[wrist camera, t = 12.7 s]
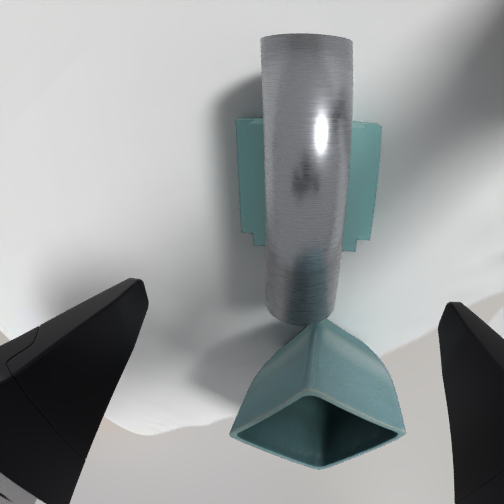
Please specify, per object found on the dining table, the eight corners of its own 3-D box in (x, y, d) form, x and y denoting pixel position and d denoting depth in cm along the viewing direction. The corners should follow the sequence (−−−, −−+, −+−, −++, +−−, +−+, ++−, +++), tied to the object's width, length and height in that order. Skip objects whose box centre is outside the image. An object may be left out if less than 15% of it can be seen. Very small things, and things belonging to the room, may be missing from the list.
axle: (342, 46, 13) (362, 38, 10) (330, 281, 20) (338, 324, 17) (262, 44, 13) (257, 33, 10) (267, 281, 21) (264, 324, 17)
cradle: (378, 123, 16) (387, 130, 14) (367, 233, 20) (372, 252, 18) (239, 118, 18) (228, 124, 16) (244, 225, 21) (236, 243, 19)
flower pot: (249, 347, 27) (225, 437, 20) (315, 284, 23) (308, 388, 15) (326, 388, 28) (319, 471, 21) (395, 338, 24) (409, 433, 16)
